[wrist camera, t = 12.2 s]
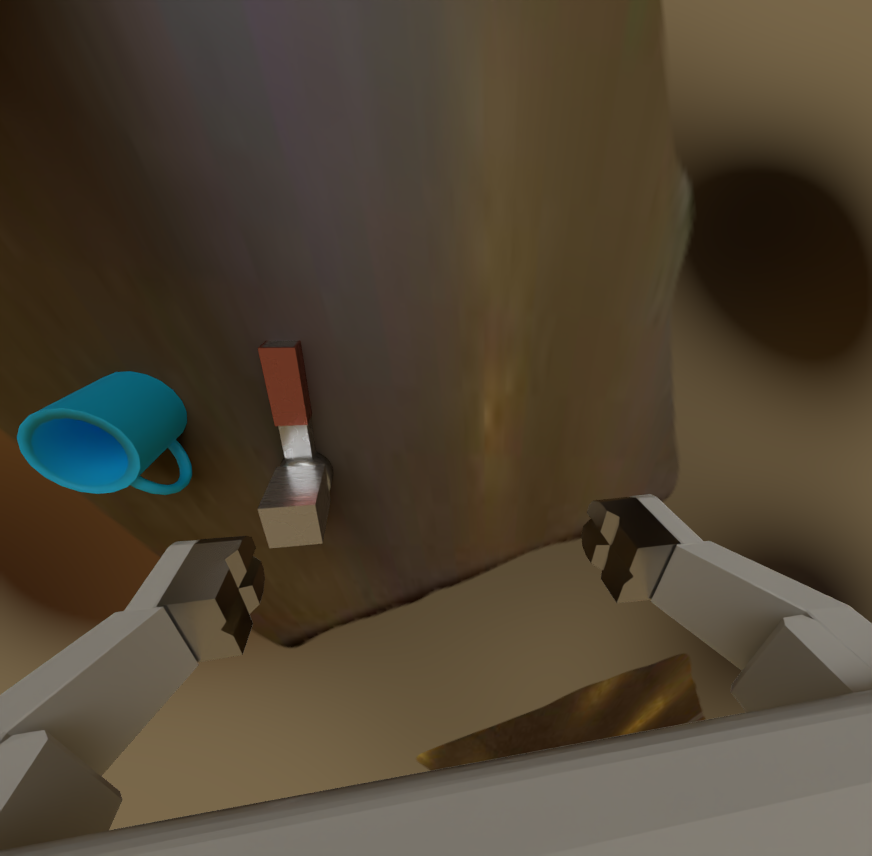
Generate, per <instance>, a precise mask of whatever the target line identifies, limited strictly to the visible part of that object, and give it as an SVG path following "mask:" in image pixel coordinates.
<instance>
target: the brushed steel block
mask: <svg viewBox="0 0 872 856" xmlns="http://www.w3.org/2000/svg"><path fill="white" fill-rule="evenodd" d="M330 502H331V498H330V492H329V486H328V479H327V473H326V467H325V464H318V465H302V466H286V467H276V469H275V471H274V473H273V476H272V478H271V480H270V482H269V485H268V487H267V489H266V491H265V493H264V496H263V498H262V500H261V502H260V505H259V507H258V512H259V516H260V519H261V522H262V525H263V529H264V532H265V535H266V539H267V542H268V545H269V548H278V547H289V546H301V545H312V544H323V539H324V534H325V529H326V523H327V518H328V513H329V507H330Z"/></svg>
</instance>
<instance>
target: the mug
mask: <svg viewBox="0 0 872 856" xmlns="http://www.w3.org/2000/svg"><path fill="white" fill-rule="evenodd" d="M186 424H187V412H186V409H185V407H184V405H183V402H182V400H181V399H180V398H179V397H178V396H177V394H176V393H175V392H174V391H173V390H172V389H171V388H170V387H168V386H167V385H166V384H164V383H163V382H162V381H160V380H158V379H155V378H153V377H151V376H149V375H146V374H142V373H137V372H132V371H127V372H115V373H113V374H110V375H108V376H105V377H103V378H101V379H99V380H97V381H95V382H93V383H91V384H89V385H87V386H85V387H83V388H82V389H80V390H78V391H76V392H74V393H72V394H70V395H68V396H66V397H64V398H62V399H60V400H58V401H56V402H54V403H52V404H50V405H48V406H47V407H45V408H43V409H41V410H39V411H37V412H35V413H33V414H31V415H29V416H28V417H27V418H26V419H25V420H24V421H23V422H22V423H21V425H20V426H19V431H18V435H17V440H18V444H19V448H20V451H21V453H22V454H23V456H24V457H25V459H26V460H27V461H28V463H29V464H30V465H31V466H32V467H33V468H34V469H36V470H37V471H38V472H39V473H40V474H42V475H43V476H44V477H46V478H47V479H49V480H52V481H53V482H55V483H57V484H59V485H61V486H63V487H67V488H70V489H73V490H76V491H79V492H87V493H96V494H100V493H111V492H116V491H118V490H121V489H123V488H126V487H128V486H129V485H131V486H133V487H135V488H137V489H140V490H142V491H145V492H148V493H152V494H161V495H168V494H172V493H177V492H180V491H181V490H182V489H184V488H185V487H186V486H187V485H188V484H189V482H190V480H191V477H192V465H191V462H190V460H189V457H188V455H187V453H186V452H185V450H184V449H183V447H182V446H181V444H180V443H179V442H178V441H177V440H176V439H177V438H178V437H179V436H180V435H181V434H182V433H183V431H184V429H185V426H186ZM167 448H169V449H170V451H171V452H172V454H173V455H174V457H175V458H176V460H177V463H178V465H179V468H180V477H179V479H178V481H177V482H176V483H174V484H170V485H164V484H157V483H154V482H152V481H149V480H147V479H144V478H143V477H141V476H140V475H141V474H142V473H143V472H144V471H145V470H146V469H147V468H148V467H149V466H150V465H151V464H152V463H153V462H154V461H155V460H156V459H157V458H158V457H159V456H160V455H161V454H162V453H163V452H164V451H165V450H166V449H167Z"/></svg>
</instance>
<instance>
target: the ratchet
mask: <svg viewBox="0 0 872 856" xmlns="http://www.w3.org/2000/svg"><path fill="white" fill-rule="evenodd" d="M258 351H259V356H260V360H261V365H262V370H263V374H264V379H265V383H266V388H267V392H268V397H269V401H270V406H271V410H272V415H273V419H274V424H275V426H278V428H279V432H280V437H281V442H282V446H283V451H284V456H285V458H284V459H283V461H282V462H281V465H280V467H286V466H302V465H318V464H325V467H326V473H327V479H328V486H329V492H330V488H331V483H332V478H333V467H332V465H331V463H330V461H329V460H328V459H327V458H326V457H325V456H323V455H322V454H320V453H318V452H316V447H315V441H314V435H313V429H312V423H311V416H312V411H311V404H310V398H309V392H308V386H307V379H306V373H305V367H304V360H303V354H302V348H301V341H265V342H264V343H263V344H262V345H261V346H260V347H258Z"/></svg>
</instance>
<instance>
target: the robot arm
mask: <svg viewBox="0 0 872 856" xmlns="http://www.w3.org/2000/svg"><path fill="white" fill-rule="evenodd" d="M587 514H588V515H589V517H590V518H591V519H590V520H589V521H588V522H587V523H586V524H585V525H584V526H583V530H582V534H581V538H582V546H583V549H584V551H585V554H586V556H587V558H588V559H589V561H590V562H591V564H593V565H595V566H596V567H598V568H599V569H601V570H602V573H601V580H602V581H603V583H604V584H605V586H606V587H607V589H608V590H609V592H610V594H611V595H612V597H613V598H614V600H615V601H616V603H624V602H633V601H642V600H651V602H652V603H653V604H655V605H656V606H657V607H659V608H660V609H661V610H663V611H664V612H665V613H666V614H668V615H669V616H671V617H672V618H673V619H674V620H676V621H677V622H678V623H680V624H681V625H682V626H684V627H685V628H686V629H688V630H689V631H690V632H692V633H693V634H694V635H696V636H697V637H698V638H700V639H701V640H702V641H704V642H705V643H706V644H708V645H709V646H710V647H711V648H713V649H714V650H715V651H717V652H718V653H720V654H721V655H722V656H723V657H725V658H726V659H728V660H729V661H730V662H731V663H733V664H734V665H735V666H737V667H738V668H739V669H741V670H742V672H741V673H740V674H739V675H738V677H737V678H736V680H735V681H734V682H733V683H732V685H731V693H732V694H733V696H734V697H735V698H736V699H737V701H738V702H739V704H740V705H741V706H742V707H743V709H744V710H745V712H746V713H741V714H735V715H730V716H724V717H720V718H714V719H709V720H703V721H697V722H692V723H687V724H681V725H676V726H670V727H665V728H660V729H654V730H649V731H643V732H638V733H632V734H627V735H622V736H616V737H611V738H605V739H600V740H595V741H589V742H584V743H578V744H573V745H568V746H562V747H557V748H551V749H546V750H541V751H535V752H530V753H524V754H519V755H514V756H508V757H503V758H497V759H492V760H486V761H481V762H476V763H470V764H465V765H459V766H454V767H449V768H443V769H438V770H432V771H427V772H422V773H417V774H411V775H405V776H400V777H395V778H390V779H384V780H378V781H373V782H368V783H362V784H357V785H351V786H346V787H341V788H335V789H330V790H325V791H319V792H314V793H308V794H303V795H298V796H292V797H287V798H281V799H276V800H271V801H265V802H260V803H254V804H249V805H243V806H238V807H233V808H227V809H222V810H217V811H211V812H206V813H201V814H195V815H189V816H184V817H179V818H173V819H168V820H163V821H157V822H152V823H146V824H141V825H135V826H130V827H125V828H119V829H114V830H109V829H110V826H111V824H112V822H113V820H114V818H115V815H116V813H117V811H118V809H119V806H120V804H121V802H122V797H121V794H120V791H119V790H118V789H116V788H115V787H114V786H113V785H111V784H110V783H109V782H108V781H107V780H105V779H104V778H103V777H102V775H103V774H104V772H105V771H106V770H107V769H108V768H109V767H110V766H111V764H112V763H113V762H114V761H115V760H116V759H117V758H118V757H119V755H120V754H121V753H122V752H123V751H124V750H125V748H126V747H127V746H128V745H129V744H130V743H131V742H132V741H133V739H134V738H135V737H136V736H137V735H138V734H139V733H140V731H141V730H142V729H143V728H144V727H145V726H146V724H147V723H148V722H149V721H150V720H151V719H152V717H153V716H154V715H155V714H156V713H157V712H158V711H159V710H160V708H161V707H162V706H163V705H164V704H165V703H166V701H167V700H168V699H169V698H170V697H171V696H172V695H173V694H174V692H175V691H176V690H177V689H178V688H179V687H180V685H181V684H182V683H183V682H184V681H185V680H186V679H187V678H188V676H189V675H190V674H191V673H192V672H193V671H194V670H195V668H196V667H197V666H198V662H203V661H208V660H214V659H221V658H227V657H233V656H239V655H243V652H244V649H245V646H246V643H247V640H248V637H249V634H250V631H251V628H252V625H253V622H252V620H251V617H250V615H249V614H250V613H251V612H252V611H253V610H254V609H255V608H256V607H257V606H258V605H259V604H260V601H261V598H262V595H263V590H264V581H265V576H264V568H263V566H262V563H261V561H260V560H258V559H257V558H255V557H254V556H253V554H254V551H255V549H256V546H255V544H254V541H253V539H252V537H249V536H238V537H225V538H212V539H200V540H193V541H179V542H175V543H173V544H172V545H170V546H169V547H168V548H167V550H166V551H165V553H164V554H163V555H162V557H161V558H160V560H159V561H158V563H157V564H156V566H155V567H154V569H153V570H152V571H151V573H150V574H149V576H148V577H147V579H146V580H145V582H144V583H143V584H142V586H141V587H140V589H139V590H138V592H137V593H136V595H135V596H134V597H133V599H132V600H131V602H130V603H129V605H128V606H127V607H126V609H125V610H124V611H122V612H116V613H114V614H112V615H111V616H110V617H108V618H107V619H105V620H104V621H103V622H101V623H100V624H98V625H97V626H96V627H94V628H93V629H92V630H90V631H89V632H87V633H86V634H84V635H83V636H82V637H80V638H79V639H78V640H76V641H75V642H73V643H72V644H71V645H69V646H68V647H66V648H65V649H64V650H62V651H61V652H59V653H58V654H57V655H56V656H54V657H52V658H51V659H50V660H48V661H47V662H46V663H44V664H43V665H41V666H40V667H38V668H37V669H36V670H34V671H33V672H32V673H30V674H29V675H27V676H26V677H25V678H23V679H22V680H20V681H19V682H18V683H16V684H15V685H13V686H12V687H11V688H9V689H8V690H6V691H5V692H4V693H3V694H1V695H0V856H872V624H871V623H870V622H869V621H868V620H866V619H865V618H864V617H863V616H861V615H860V614H859V613H858V612H856V611H855V610H854V609H853V608H851V607H850V606H848V605H846V604H844V603H842V602H839V601H838V600H835V599H833V598H831V597H829V596H827V595H824V594H823V593H820V592H818V591H816V590H814V589H812V588H809V587H808V586H805V585H803V584H801V583H799V582H797V581H795V580H792V579H790V578H788V577H786V576H784V575H782V574H779V573H777V572H775V571H773V570H771V569H769V568H767V567H765V566H762V565H760V564H758V563H756V562H754V561H752V560H750V559H747V558H745V557H743V556H741V555H739V554H737V553H734V552H732V551H730V550H728V549H726V548H724V547H722V546H719V545H717V544H715V543H713V542H711V541H705V542H704V541H703V540H701V539H700V538H699V537H698V536H697V535H696V534H695V533H694V532H693V531H692V530H691V529H690V528H689V527H688V526H687V525H686V524H684V522H683V521H681V520H680V519H679V518H678V517H677V516H676V515H675V514H674V513H673V512H672V511H671V510H670V509H669V508H668V507H667V506H665V504H663V503H662V502H661V501H660V500H659V499H658V498H657V497H655V496H653V495H651V494H647V495H638V496H631V497H621V498H612V499H603V500H594V501H592V502H591V503H590V505H589V507H588V511H587Z"/></svg>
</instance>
